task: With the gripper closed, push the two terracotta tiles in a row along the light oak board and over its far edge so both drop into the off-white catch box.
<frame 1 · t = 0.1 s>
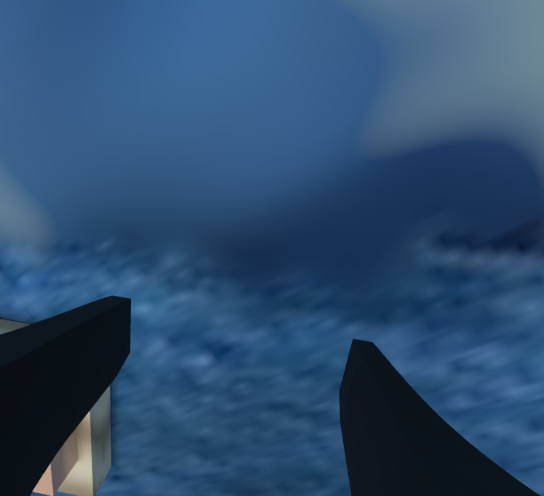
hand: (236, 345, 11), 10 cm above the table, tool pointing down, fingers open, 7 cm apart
board: (32, 392, 26), on the table
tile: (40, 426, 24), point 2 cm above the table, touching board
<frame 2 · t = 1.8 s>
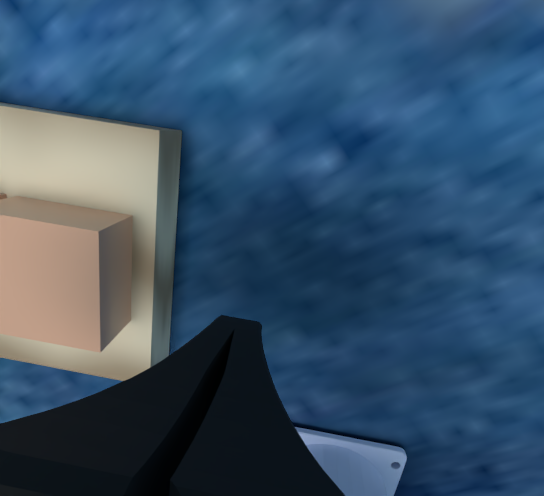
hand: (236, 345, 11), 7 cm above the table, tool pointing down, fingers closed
board: (60, 235, 18), on the table
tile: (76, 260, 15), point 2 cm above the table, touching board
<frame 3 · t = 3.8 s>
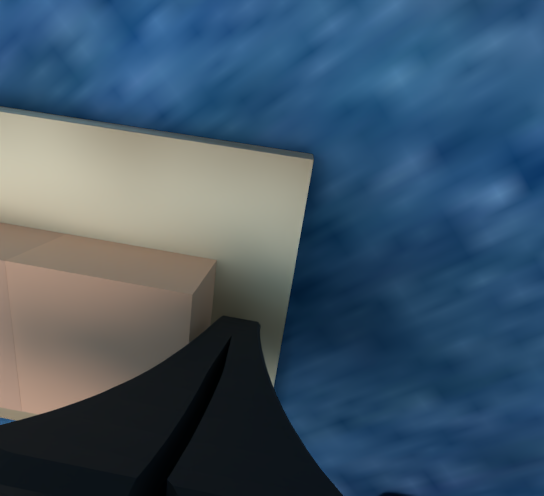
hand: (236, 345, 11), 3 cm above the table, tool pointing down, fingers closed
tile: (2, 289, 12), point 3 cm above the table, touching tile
board: (143, 280, 15), on the table
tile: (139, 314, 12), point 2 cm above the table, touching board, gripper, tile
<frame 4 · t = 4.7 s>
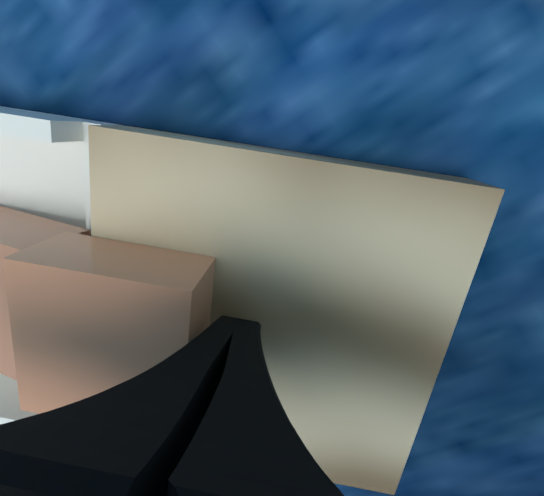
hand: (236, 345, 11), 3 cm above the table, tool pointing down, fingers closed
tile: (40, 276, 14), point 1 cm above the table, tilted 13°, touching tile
catch box: (18, 257, 15), on the table
board: (270, 302, 14), on the table
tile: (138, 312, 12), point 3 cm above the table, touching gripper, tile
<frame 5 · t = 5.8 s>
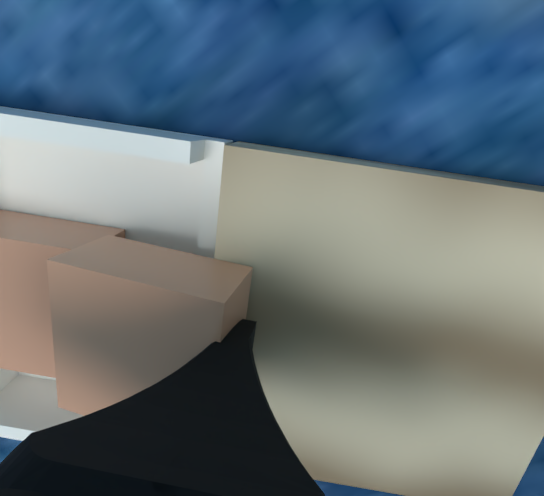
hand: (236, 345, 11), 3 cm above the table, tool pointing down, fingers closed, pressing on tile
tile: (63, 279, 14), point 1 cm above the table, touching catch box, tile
catch box: (107, 276, 14), on the table
board: (371, 318, 14), on the table
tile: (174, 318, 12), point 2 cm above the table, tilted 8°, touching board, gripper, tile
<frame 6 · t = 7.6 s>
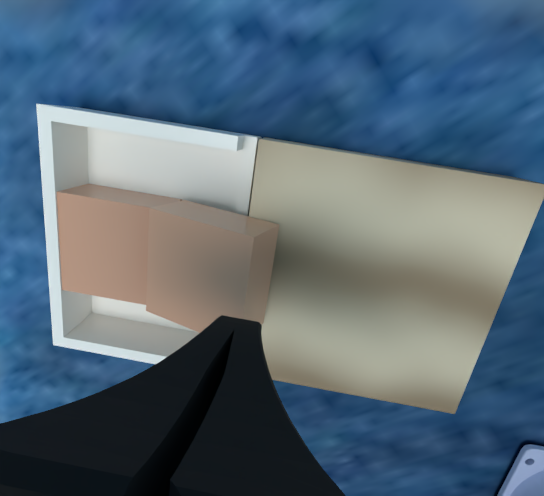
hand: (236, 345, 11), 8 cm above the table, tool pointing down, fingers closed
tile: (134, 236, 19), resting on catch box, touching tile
catch box: (164, 236, 19), on the table
board: (359, 270, 19), on the table
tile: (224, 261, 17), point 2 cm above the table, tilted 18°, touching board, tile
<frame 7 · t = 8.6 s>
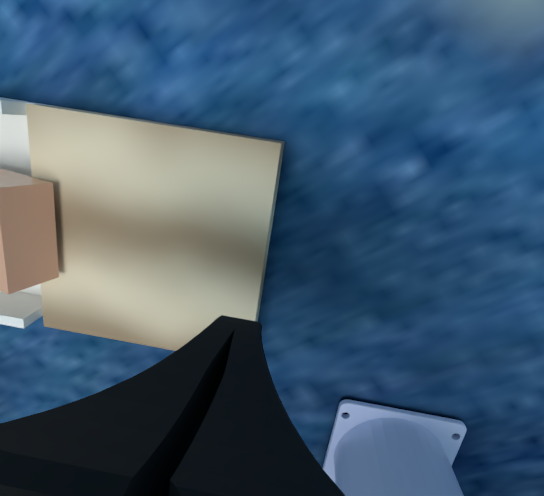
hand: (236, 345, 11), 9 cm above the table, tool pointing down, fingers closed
board: (166, 232, 20), on the table
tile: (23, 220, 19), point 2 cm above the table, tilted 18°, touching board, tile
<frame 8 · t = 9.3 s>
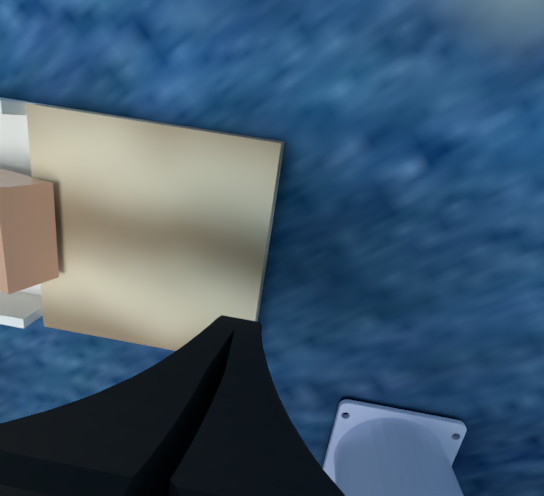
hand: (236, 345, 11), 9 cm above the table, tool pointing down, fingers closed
board: (166, 232, 20), on the table
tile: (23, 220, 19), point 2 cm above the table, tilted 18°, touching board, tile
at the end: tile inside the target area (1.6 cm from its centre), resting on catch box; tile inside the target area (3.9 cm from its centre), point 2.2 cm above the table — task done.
